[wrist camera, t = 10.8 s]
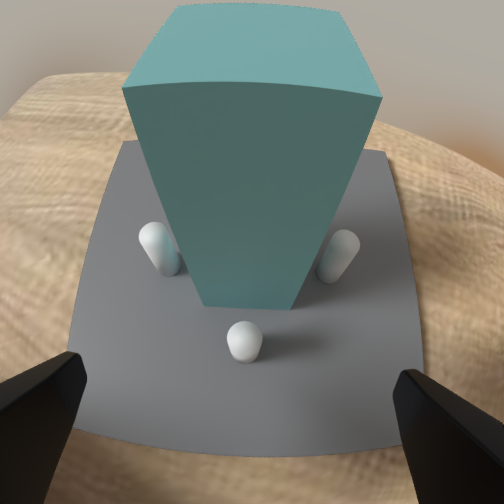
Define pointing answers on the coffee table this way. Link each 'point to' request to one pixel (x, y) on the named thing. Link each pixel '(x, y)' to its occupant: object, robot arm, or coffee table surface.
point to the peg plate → (245, 332)
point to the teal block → (251, 140)
